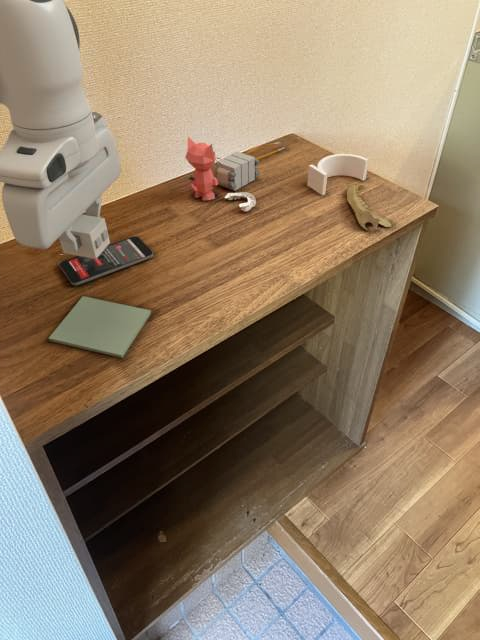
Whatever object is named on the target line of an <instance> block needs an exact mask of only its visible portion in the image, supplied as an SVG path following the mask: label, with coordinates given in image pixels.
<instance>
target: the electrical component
mask: <svg viewBox="0 0 480 640" xmlns="http://www.w3.org/2000/svg"><path fill="white" fill-rule="evenodd" d="M278 144H279V145H280V144H282V143H281V141H279V142H273V143H268V144H261V145H259V146H256V147H253V148H251V149H250V150H248V151H247V152H245V153H243V152H240V151H235V152H233V153H231V154H229V155H227V156H225V157H223V158H221V159H222V160H221V159H219V160H217V161H218V162H217V161H215V165H216V166H215V167H216V168H215V173H216V174H215V175H216V179H217V180H218V185H219V186H221V187H224V188H226V189H229V190H232V191H234V192H235V191H237V190H240V189H241V188H243V187H244V186H246V185H249V183H251V182H253V181H255V180H256V176H260V170H259V168H258V167H257V166H259V164H260V163H261V161H260V159H263V158H265V157H267V156H270V155H273V154H274V153H277V152H280V151H282V150H284V149H286V147H281V148H279V149H276V150H273V151H270V152H267V153H266V154H264V155H261V156H259V157H255V156H252V155H250V154H249V153H252V152H253V151H255V150H259V149H261V148H265V147H269V146H274V145H278ZM219 162H220V163H221V164H220V163H219ZM218 185H217V186H218Z"/></svg>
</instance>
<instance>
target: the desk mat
mask: <svg viewBox="0 0 480 640" xmlns="http://www.w3.org/2000/svg"><path fill="white" fill-rule="evenodd" d="M151 315H152V310H151V309H146V308H141V307H137V306H132V305H128V304H127V305H126V304H122V303H118V302H113V301H107V300H102V299H98V298H93V297H90V296H85V295H83V296H81V298H80V299H78V302H77V303H76V304H75V305H74V306H73V307H72V309H70V311H69V312H68V314H67V315H66V316H65V317H64V318H63V320H62V321H61V322H60V323H59V324H58V326H57V327H56V328H55V330H53V332H52V333H50V336H49V337H48V341H49V342H53V343H57V344H61V345H66V346H69V347H74V348H77V349H78V348H79V349H82V350H86V351H91V352H95V353H100V354H103V355H108V356H111V357H112V356H113V357H117V358H121V359H123V358H124V357H125V354H126V353H127V351H128V350H129V348H130V347H131V345H132V344H133V342H134V341H135V340H136V338H137V336H138V335H139V333H140V331H141V330H142V328H143V327H144V325H145V324H146V322H147V321H148V319H149V318H150V316H151Z"/></svg>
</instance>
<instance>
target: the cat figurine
mask: <svg viewBox="0 0 480 640" xmlns="http://www.w3.org/2000/svg"><path fill="white" fill-rule="evenodd" d="M218 159H219V160H222V159H223V158H220V157H216V152H215V151H214V148H213V144H212V143H211V144H210V145H208V144H207V143H206V142H197V143H196V142H195V141H194V140H192V138H190V136H187V152H186V154H185V160H186V161H187V162H188V163H189V165H190V166H192V167H193V168H194V172H193V175H191V176H190V177H189V178H188V180H190V182H189V183H188V186H189V187H190V188H191V189H192V190H193V191H195V193H194V197H195V198H196V199H199V198H201V201H212V200H215V199H216V198H217V197H218V195H217V194H215V193H214V191H213V189H214V188H216V187H217V186H218V180H217V178H216V177H217V176H216V177H215V176H214V173H213V171H212V168H213V167H214V166H215V164H216V162H218V161H219V160H218ZM219 163H220V162H219ZM220 164H221V163H220Z"/></svg>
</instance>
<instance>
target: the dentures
mask: <svg viewBox="0 0 480 640" xmlns="http://www.w3.org/2000/svg"><path fill="white" fill-rule="evenodd" d="M241 198H242V199H245V198H246V199H247V201H246V202H241V203H239V205H238V206H239V208H240V210H241V211H242V212H245V213H246V212H249V211H250V210H251V209H252V208H255V207H256V204H257V200H256V197H255V196H254V195H253V194H252V193H250V192H248V191H242V192H241V191H239V192H228V193H227V194H226V195H225V196H224V199H226V200H227V201H232V200H235V201H236V200H241Z"/></svg>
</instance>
